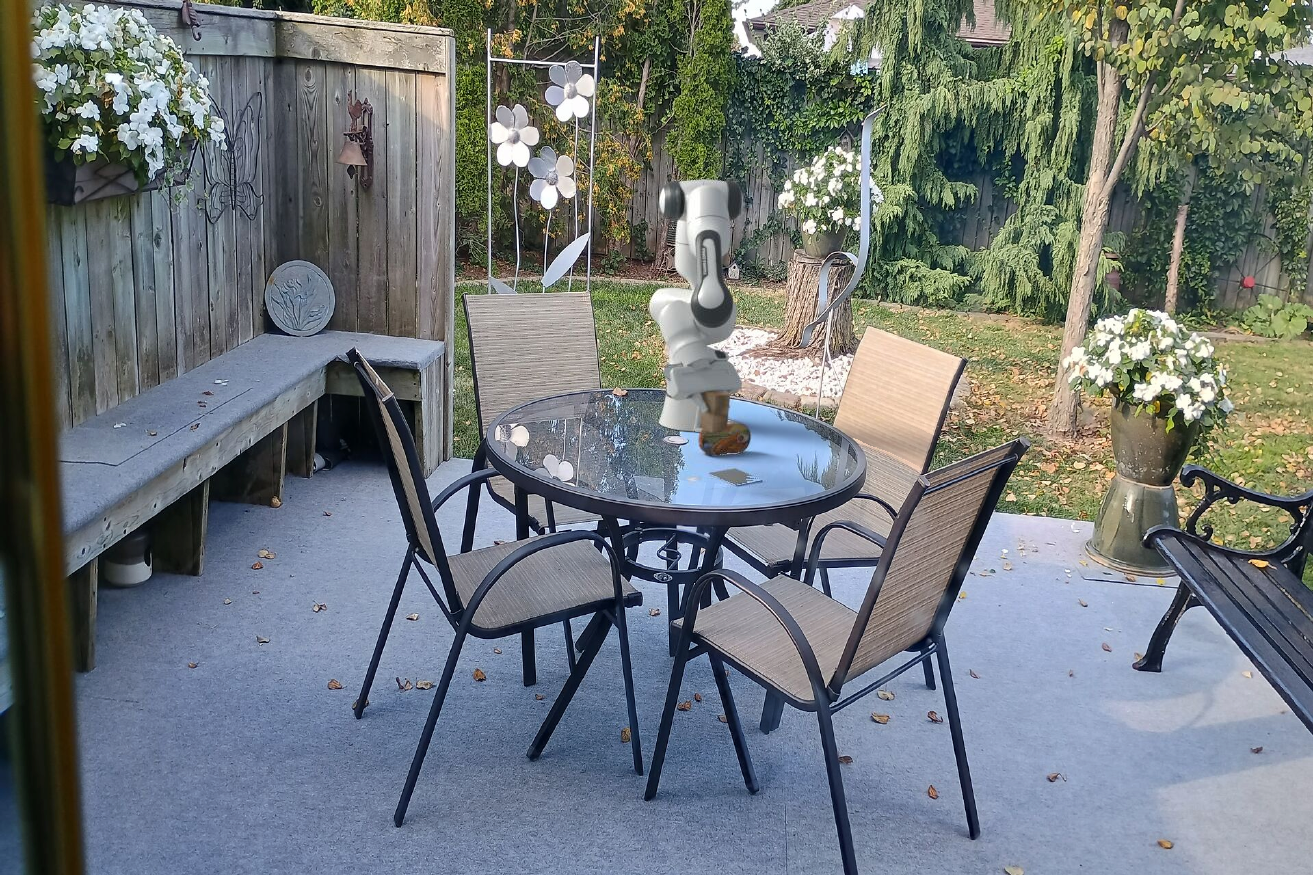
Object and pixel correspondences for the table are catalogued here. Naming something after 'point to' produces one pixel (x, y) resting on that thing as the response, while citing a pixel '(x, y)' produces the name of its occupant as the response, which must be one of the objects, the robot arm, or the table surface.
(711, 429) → the walnut block
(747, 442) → the tin
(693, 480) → the placard
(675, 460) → the table surface
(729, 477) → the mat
